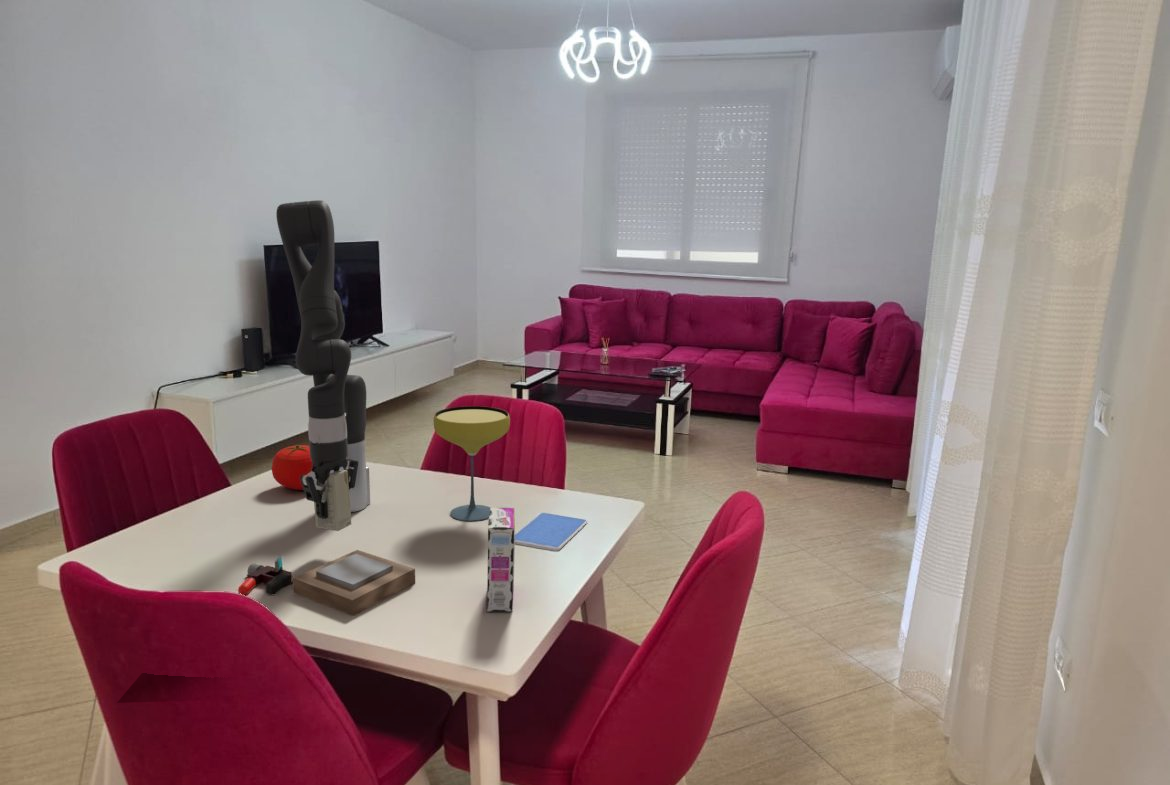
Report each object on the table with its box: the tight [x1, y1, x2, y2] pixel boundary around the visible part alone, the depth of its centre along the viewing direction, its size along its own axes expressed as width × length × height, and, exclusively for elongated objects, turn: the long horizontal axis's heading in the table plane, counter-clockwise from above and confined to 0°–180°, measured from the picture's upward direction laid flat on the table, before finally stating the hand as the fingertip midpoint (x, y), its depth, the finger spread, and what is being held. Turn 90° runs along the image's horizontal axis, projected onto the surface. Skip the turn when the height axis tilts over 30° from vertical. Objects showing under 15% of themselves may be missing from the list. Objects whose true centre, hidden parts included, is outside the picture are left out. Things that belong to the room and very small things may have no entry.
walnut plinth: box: [292, 549, 416, 616], centre depth 150 cm, size 16×16×4 cm
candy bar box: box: [486, 507, 516, 613], centre depth 146 cm, size 11×5×16 cm, turn 5°
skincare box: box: [313, 470, 352, 532], centre depth 163 cm, size 6×4×12 cm
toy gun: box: [237, 555, 293, 596], centre depth 150 cm, size 10×12×5 cm
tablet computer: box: [515, 512, 589, 552], centre depth 181 cm, size 19×13×1 cm, turn 160°
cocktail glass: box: [433, 405, 511, 522], centre depth 188 cm, size 18×18×25 cm
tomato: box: [271, 444, 313, 491], centre depth 205 cm, size 13×14×12 cm
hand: (332, 513), depth 164 cm, fingers closed on skincare box, 4 cm apart
